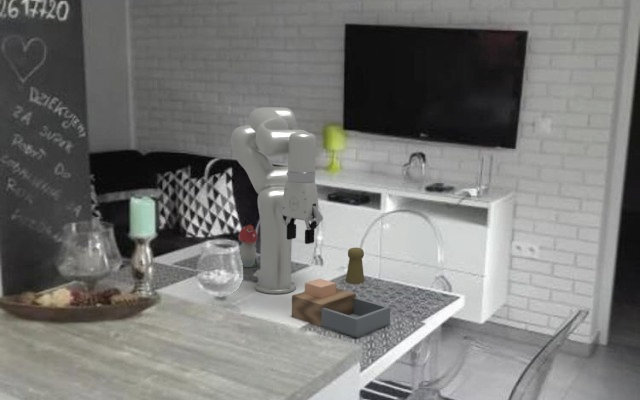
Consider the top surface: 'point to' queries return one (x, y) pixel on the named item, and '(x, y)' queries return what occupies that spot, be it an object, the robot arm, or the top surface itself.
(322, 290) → the terracotta block
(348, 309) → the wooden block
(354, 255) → the cork
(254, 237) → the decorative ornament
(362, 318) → the box
